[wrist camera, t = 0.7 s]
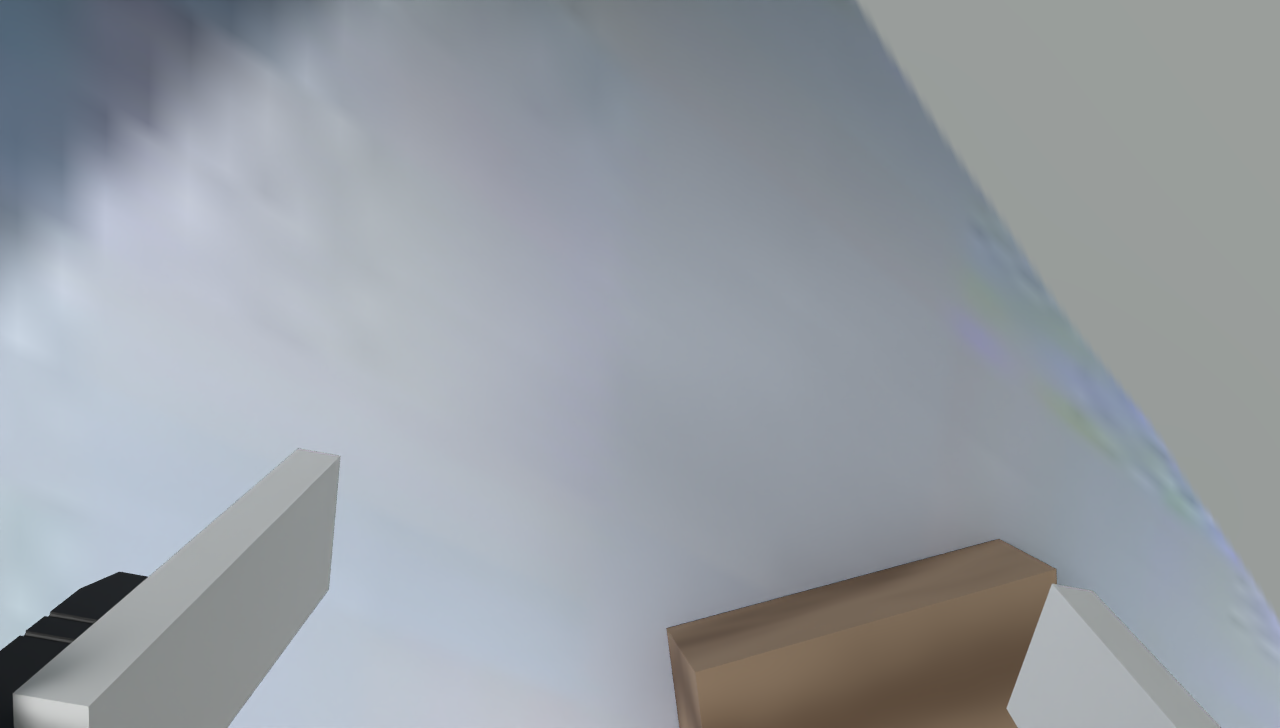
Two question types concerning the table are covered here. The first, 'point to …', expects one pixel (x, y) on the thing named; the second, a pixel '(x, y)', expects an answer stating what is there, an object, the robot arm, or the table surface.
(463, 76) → the table surface
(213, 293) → the table surface
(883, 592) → the slotted rack
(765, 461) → the table surface
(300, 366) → the table surface
